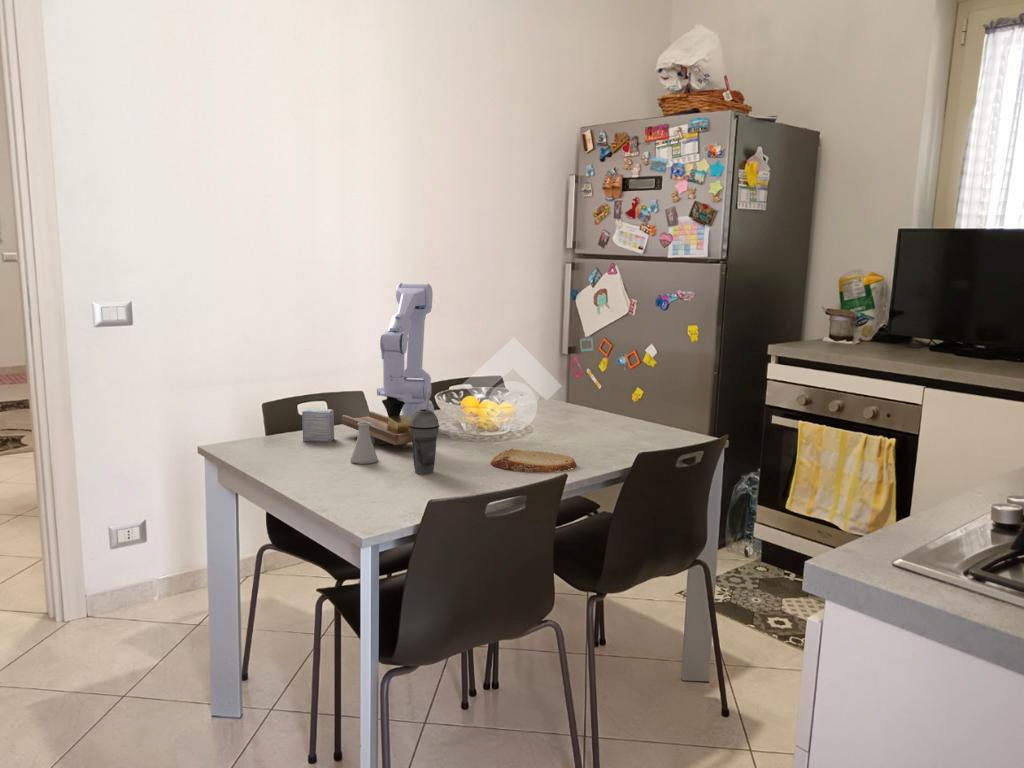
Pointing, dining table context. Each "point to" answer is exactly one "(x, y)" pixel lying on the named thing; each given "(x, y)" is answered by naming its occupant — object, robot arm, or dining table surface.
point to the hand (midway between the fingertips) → (394, 424)
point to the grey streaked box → (318, 425)
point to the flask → (363, 446)
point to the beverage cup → (424, 439)
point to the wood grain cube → (398, 424)
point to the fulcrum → (377, 441)
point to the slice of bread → (532, 461)
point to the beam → (378, 428)
